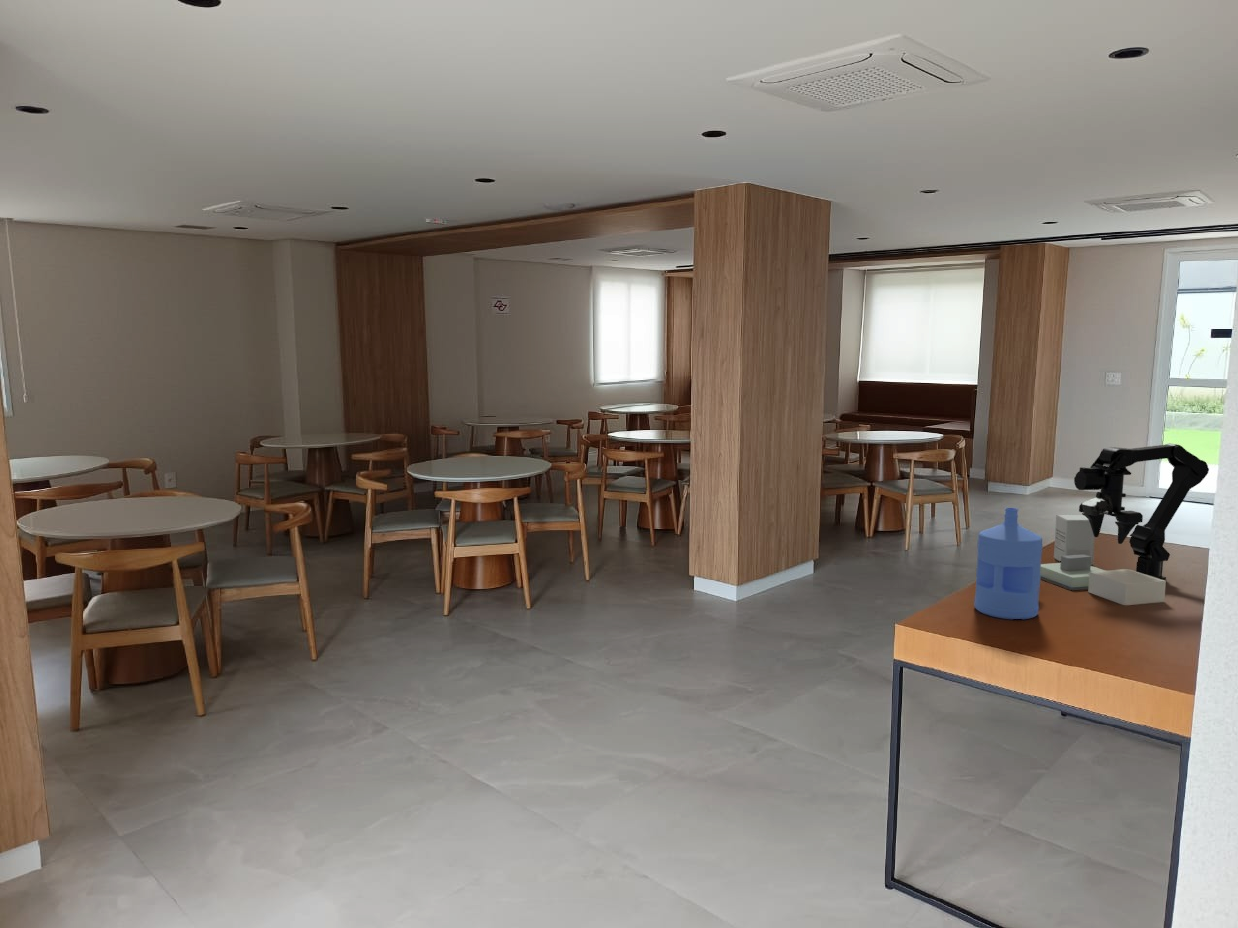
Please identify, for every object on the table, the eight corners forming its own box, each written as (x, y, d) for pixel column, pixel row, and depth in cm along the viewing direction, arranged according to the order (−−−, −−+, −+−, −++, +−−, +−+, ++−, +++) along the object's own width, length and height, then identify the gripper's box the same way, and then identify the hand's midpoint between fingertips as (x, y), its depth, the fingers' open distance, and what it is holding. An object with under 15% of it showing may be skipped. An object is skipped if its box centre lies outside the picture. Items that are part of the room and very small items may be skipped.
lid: (1077, 570, 261) (1078, 549, 260) (1115, 583, 246) (1117, 560, 245) (1035, 573, 258) (1036, 551, 257) (1071, 587, 243) (1073, 564, 242)
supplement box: (1081, 558, 278) (1084, 514, 276) (1093, 565, 269) (1096, 519, 267) (1052, 557, 279) (1055, 514, 277) (1064, 564, 270) (1067, 519, 268)
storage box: (1126, 588, 243) (1127, 568, 242) (1164, 601, 230) (1165, 580, 229) (1088, 592, 240) (1089, 571, 239) (1124, 605, 227) (1126, 584, 226)
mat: (1077, 570, 263) (1077, 569, 263) (1123, 586, 245) (1123, 584, 245) (1028, 574, 259) (1028, 573, 259) (1071, 590, 241) (1071, 589, 241)
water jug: (987, 599, 234) (993, 501, 230) (1047, 611, 223) (1053, 508, 219) (964, 611, 223) (969, 509, 219) (1025, 624, 212) (1032, 517, 208)
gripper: (1065, 485, 257) (1062, 535, 259) (1113, 495, 239) (1109, 549, 241) (1096, 484, 259) (1092, 533, 261) (1146, 494, 241) (1141, 546, 243)
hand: (1107, 540), depth 252 cm, fingers open, 9 cm apart
